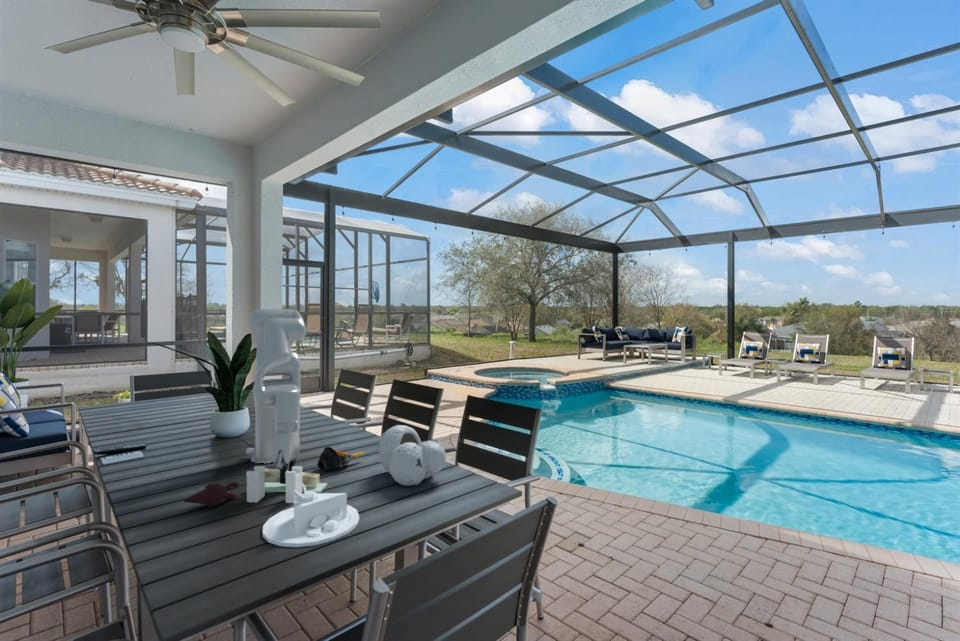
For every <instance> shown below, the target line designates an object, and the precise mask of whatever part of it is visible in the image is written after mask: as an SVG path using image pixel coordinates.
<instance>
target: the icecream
mask: <svg viewBox="0 0 960 641" xmlns="http://www.w3.org/2000/svg"><path fill="white" fill-rule="evenodd" d="M239 486H240V483H239V482H238V481H232V482H230V483H228V484H226V485H224V484H222V483H208V484H207V485H206V486H205V487H204V489H202V490H200V491H198V492H196V493H194V494H193V495H191V496H188V497H186V498H184V499H183V502H184V503H190V504H198V505H199V504H200V505H206V506H207V507H209V508H211V509H212V508H213V507H215V506H218V505H220V504H222V503H223V502H224V501H225V500H226V501H232V500H234V499H236V498H237V494H236V493H235V492H231V491H234V490H235V489H238V487H239ZM228 491H230V492H228ZM231 499H232V500H231Z"/></svg>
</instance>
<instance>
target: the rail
mask: <svg viewBox="0 0 960 641" xmlns="http://www.w3.org/2000/svg"><path fill="white" fill-rule="evenodd" d="M320 474H321V473H311V472H303V471H302V483H303V484H304V485H307V486H316V485H317V484H318V483H320ZM265 482H271V483H280V472H279V469H276V468H275V469H273V468H266V467H265Z"/></svg>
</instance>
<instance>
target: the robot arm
mask: <svg viewBox="0 0 960 641" xmlns="http://www.w3.org/2000/svg"><path fill="white" fill-rule="evenodd" d="M249 321H250V327H251V331H252V334H253V335H254V337H255V338H254V339H255V341H256V373H255V375H254V379H253V387H252V396H253V402H254V410H255V412H254V413H255V415H254V417H255V425H254V426H255V427H254V428H255V432H254V433H255V434H254V435H255V439H254V440H255V447H247V448H246V453H245V454H246V455H252V456H251V458H250V461H251V463H253V462H254V463H253V464H259V463H264V464H272V463H271V462H273V464H276V468H277V470H279V472H280V484H286V477H285V472H286V471H292V467H293V466H297V463H296V461H297V458H298V456H299V455H300V451H301V450H300V432H299V431H300V430H301V414H300V412H301V411H300V410H301V408H300V407H301V406H300V404H301V403H300V400H301V396H302V395H301V389H302V388H301V387H302V386H301V383H302V382H301V359H300V356H299V354H298V353H297V352H296V351H292V348H291V341H303V340H304V339H305V337H306V335H307V329H306V328H307V327H306V324H305V321H304V318H303V316H302V315H301V314H300V312H299V311H298V310H297V309H290V308H287V309H285V308H283V309H281V308H260V309H255V310H253V311H252V312H251V313H250V319H249ZM274 376H275V377H276V376H287V378H286V377H285V378H284V377H283V378H270V379H264V378H265V377H274Z"/></svg>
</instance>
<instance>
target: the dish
mask: <svg viewBox="0 0 960 641" xmlns="http://www.w3.org/2000/svg"><path fill="white" fill-rule="evenodd" d="M300 482H301V484H302V486H303V489H304V493H302V494H300V493H298V492H297V491H295V490H294V491H293V492H292V494H293V495H294V503H293V507H289V508H288V509H284V510H281V511H279V512H278V513H276V514H275V515H273V516H271V517H269V518H268V519H267V520H266V522H265V523H264V524H263V525H262V537H263V538H264V540H266V542H268V543H270V544H273V545H276V546H278V547H284V548H285V547H287V548H303V547H304V548H305V547H312V546H313V547H315V546H318V545H321V544H325V543H330V542H333V541H335V540H338V539H340V538H341V537H345V536H346V535H347V534H349V533H350V532H352V531H353V530H354V529H356V527H357V526H358V523H359V521H360V514H359V513H358V512H359V511H358V510H357V509H356V508H354V507H353V506H351V505H350V504H347V503H348V493H347V492H338V493H337V492H336V493H335V492H333V493H332V492H331V493H330V492H329V493H327V492H325V493H323V492H320V493H316V492H314V491H306V488H305V486H304V484H303V483H302V481H300ZM356 525H357V526H356Z"/></svg>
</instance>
